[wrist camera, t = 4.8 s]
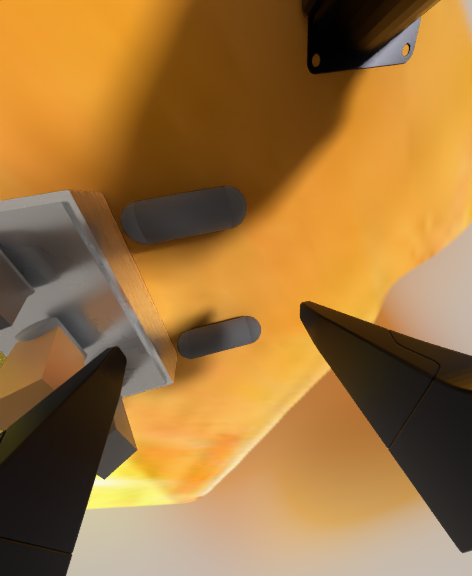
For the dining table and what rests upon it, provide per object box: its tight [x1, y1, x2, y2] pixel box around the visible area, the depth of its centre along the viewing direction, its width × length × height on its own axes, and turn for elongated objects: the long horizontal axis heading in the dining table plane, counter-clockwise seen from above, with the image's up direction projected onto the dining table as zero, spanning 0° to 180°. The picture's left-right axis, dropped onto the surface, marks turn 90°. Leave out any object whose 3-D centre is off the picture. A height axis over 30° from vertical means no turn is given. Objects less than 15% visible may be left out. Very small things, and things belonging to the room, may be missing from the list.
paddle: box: [97, 395, 137, 479], centre depth 10 cm, size 2×3×5 cm
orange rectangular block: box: [0, 317, 87, 431], centre depth 8 cm, size 2×3×5 cm, turn 9°
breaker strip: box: [0, 190, 177, 397], centre depth 12 cm, size 8×14×3 cm, turn 9°
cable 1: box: [121, 186, 247, 244], centre depth 11 cm, size 7×2×2 cm, turn 99°
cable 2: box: [177, 316, 261, 359], centre depth 15 cm, size 7×2×2 cm, turn 99°
